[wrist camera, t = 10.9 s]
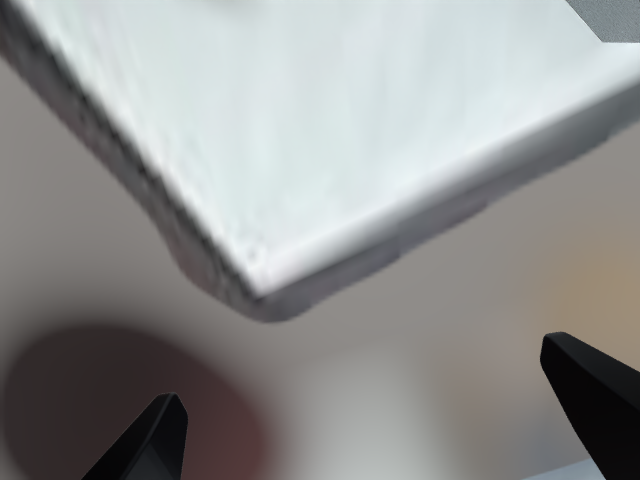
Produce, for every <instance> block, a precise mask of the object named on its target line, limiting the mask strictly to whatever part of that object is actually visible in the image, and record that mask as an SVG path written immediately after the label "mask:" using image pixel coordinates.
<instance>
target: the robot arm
mask: <svg viewBox="0 0 640 480" xmlns="http://www.w3.org/2000/svg"><path fill="white" fill-rule="evenodd" d="M540 363H541V366H542V369H543V371H544V373H545V375H546V377H547V379H548V380H549V382H550V384H551V386H552V388H553V390H554V392H555V394H556V396H557V398H558V400H559V402H560V404H561V406H562V408H563V410H564V412H565V414H566V416H567V418H568V420H569V421H570V423H571V425H572V427H573V429H574V431H575V432H576V434H577V435H578V437H579V439H580V440H581V442H582V443H583V445H584V447H585V448H586V450H587V451H588V453H589V454H590V456H591V457H592V459H593V461H594V462H595V464H596V465H597V467H598V468H599V470H600V471H601V473H602V475H603V476H604V478H605V479H606V480H640V372H639V371H637V370H635V369H633V368H631V367H629V366H627V365H626V364H624V363H622V362H620V361H618V360H616V359H614V358H613V357H611V356H609V355H607V354H605V353H603V352H601V351H599V350H598V349H596V348H594V347H592V346H590V345H588V344H586V343H584V342H583V341H581V340H579V339H577V338H575V337H573V336H571V335H570V334H567V333H565V332H555V333H549V334H546V335H545V336H544V338H543V342H542V349H541V354H540ZM187 427H188V414H187V411H186V409H185V408H184V406H183V404H182V402H181V400H180V398H179V396H178V395H177V394H176V393H175V392H170V393H165V394H160V395H158V396H157V397H155V399H154V400H153V401H152V402H151V403H150V404H149V405H148V406H147V407H146V409H144V410H143V412H142V413H141V414H140V415H139V416H138V417H137V418H136V419H135V420H134V422H133V423H132V424H131V425H130V426H129V427H128V428H127V429H126V430H125V431H124V433H123V434H122V435H121V436H120V437H119V438H118V439H117V440H116V441H115V442H114V444H113V445H112V446H111V447H110V448H109V449H108V450H107V451H106V452H105V453H104V455H103V456H102V457H101V458H100V459H99V460H98V461H97V462H96V463H95V464H94V465H93V467H92V468H91V469H90V470H89V471H88V472H87V473H86V474H85V475H84V477H82V479H81V480H181V473H182V466H183V458H184V450H185V443H186V435H187Z"/></svg>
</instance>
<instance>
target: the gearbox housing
mask: <svg viewBox="0 0 640 480" xmlns="http://www.w3.org/2000/svg"><path fill="white" fill-rule="evenodd" d="M566 1H567V2H568V3H569V4H570V5H571V6H572V7H573V8H574V10H575V11H576V12H577V13H578V14H579V15H580V16H581V18H582V19H583V20H584V21H585V22H586V23H587V24H588V25H589V27H590V28H591V29H592V30H593V31H594V32H595V33H596V35H597V36H598V37H599V38H600V39H601V40H602V41H603V42H627V43H640V0H566Z"/></svg>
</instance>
